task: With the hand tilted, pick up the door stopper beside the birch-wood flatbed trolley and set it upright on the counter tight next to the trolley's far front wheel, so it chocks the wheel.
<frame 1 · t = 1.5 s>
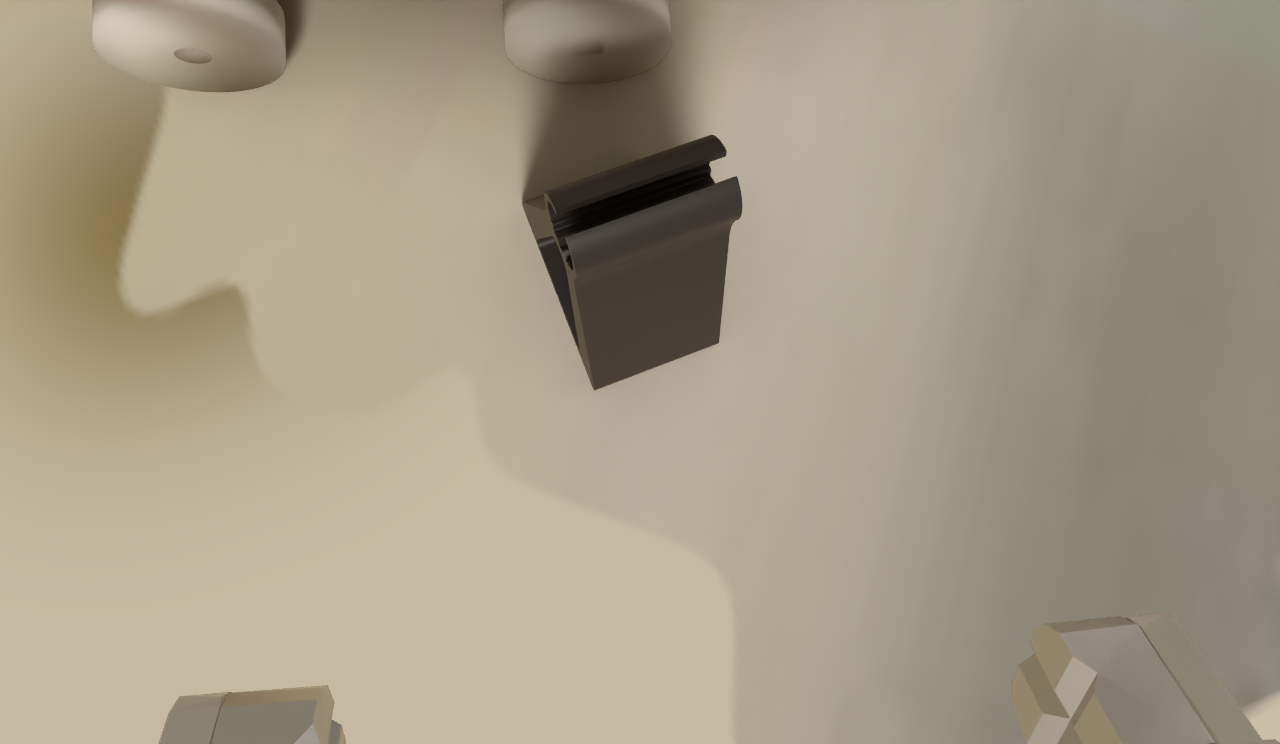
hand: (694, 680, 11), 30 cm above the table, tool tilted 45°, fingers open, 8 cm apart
door stopper: (619, 276, 42), on the table
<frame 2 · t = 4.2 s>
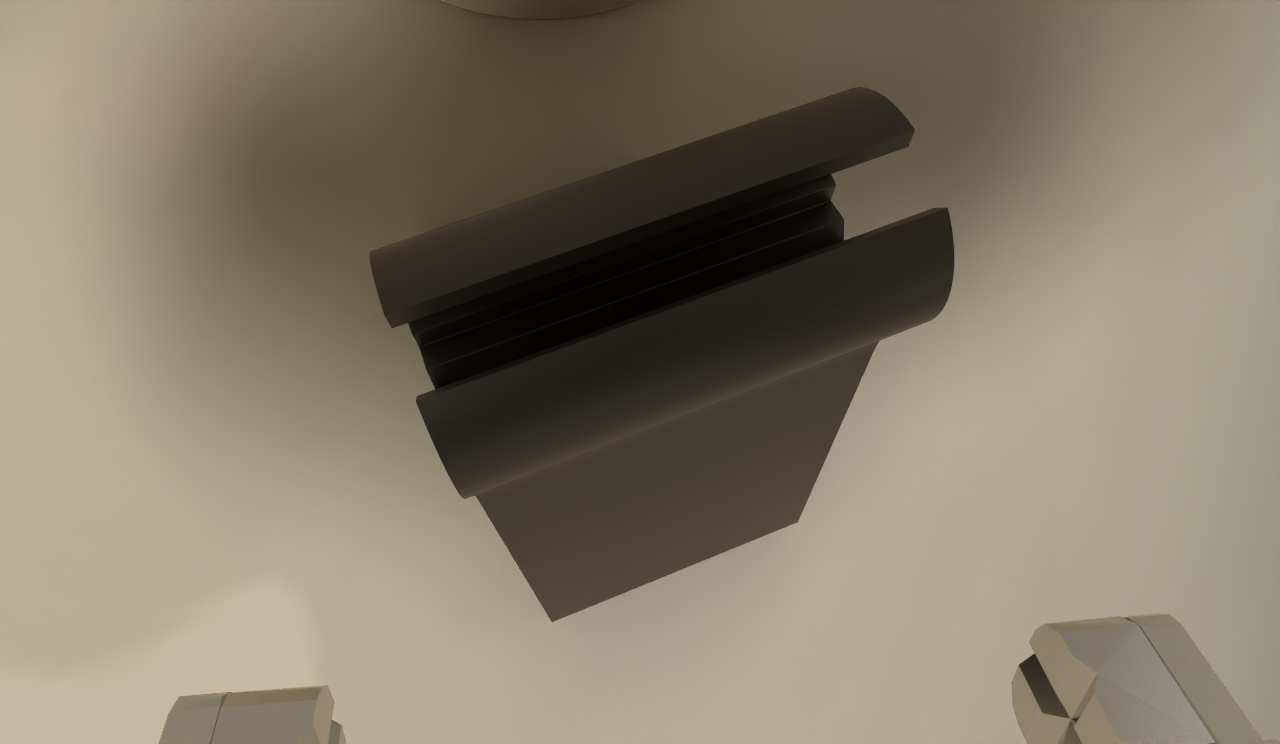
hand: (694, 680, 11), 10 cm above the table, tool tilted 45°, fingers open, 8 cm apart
door stopper: (604, 387, 22), on the table
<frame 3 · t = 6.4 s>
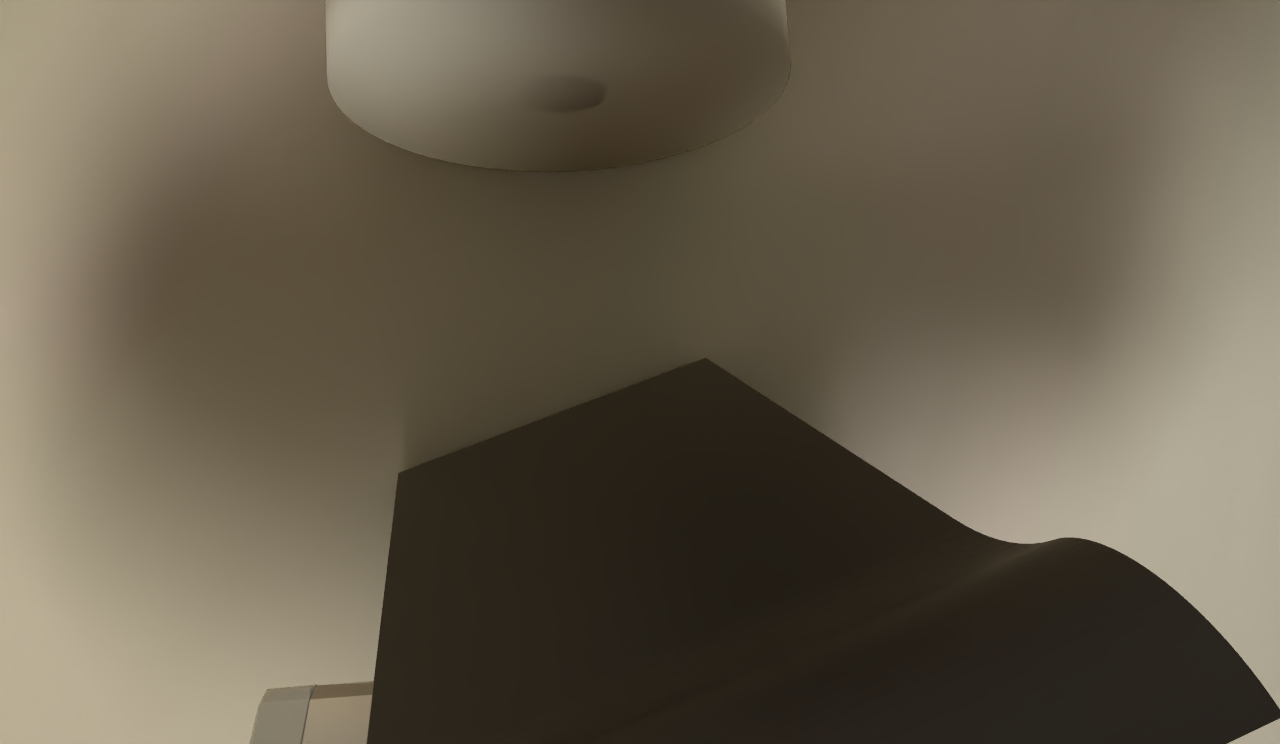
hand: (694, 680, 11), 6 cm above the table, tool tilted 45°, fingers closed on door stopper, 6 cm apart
door stopper: (640, 642, 17), on the table, touching gripper
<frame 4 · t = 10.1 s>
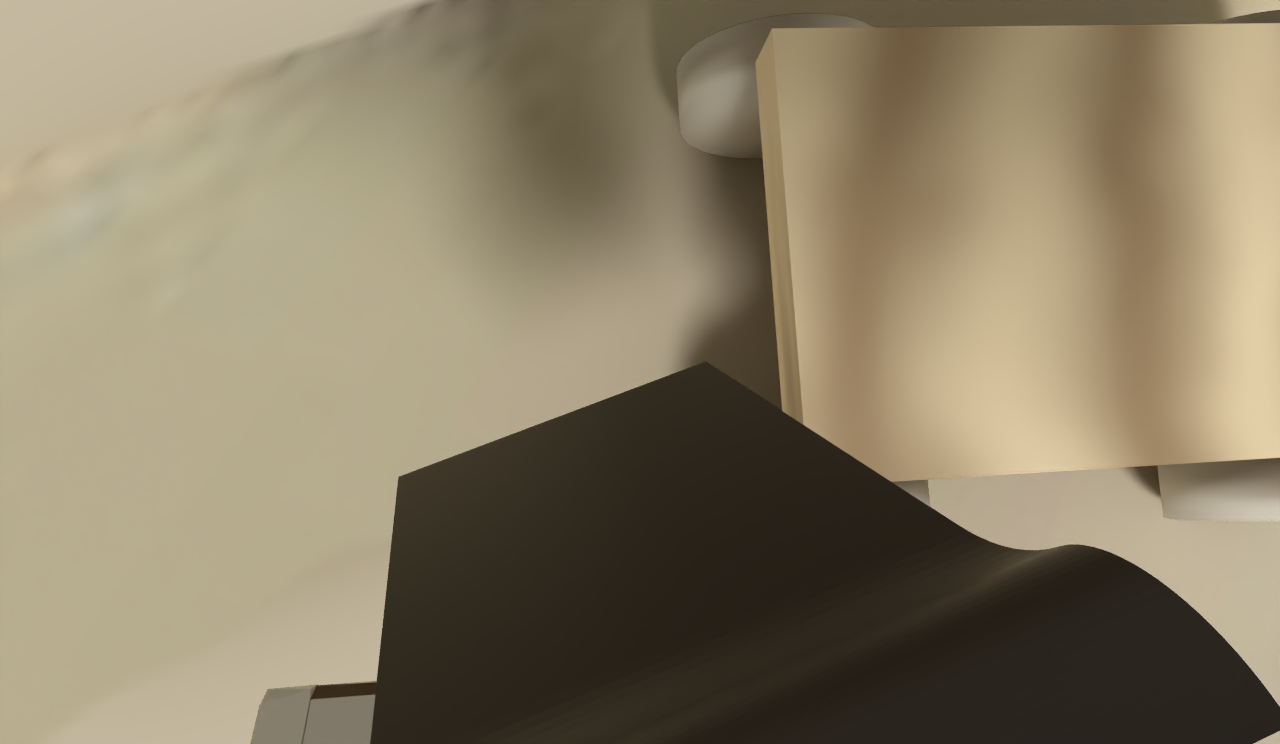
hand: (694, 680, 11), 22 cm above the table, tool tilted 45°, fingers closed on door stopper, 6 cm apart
door stopper: (640, 646, 17), point 15 cm above the table, touching gripper
wheeled trolley: (982, 308, 34), on the table
when the fingers open (8 cm above the table, at t = 13.8 s): door stopper drops 1 cm, on the table.
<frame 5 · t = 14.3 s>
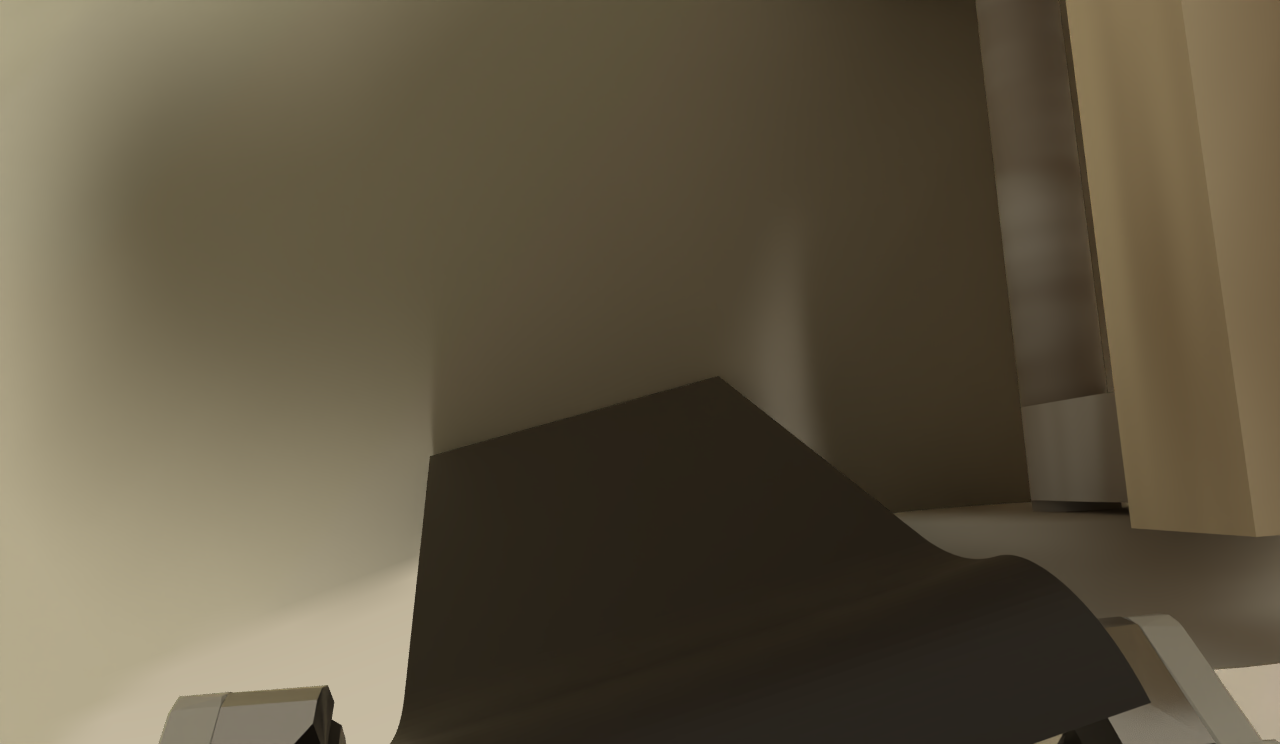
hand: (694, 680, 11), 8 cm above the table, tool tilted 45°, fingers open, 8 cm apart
door stopper: (635, 631, 19), on the table
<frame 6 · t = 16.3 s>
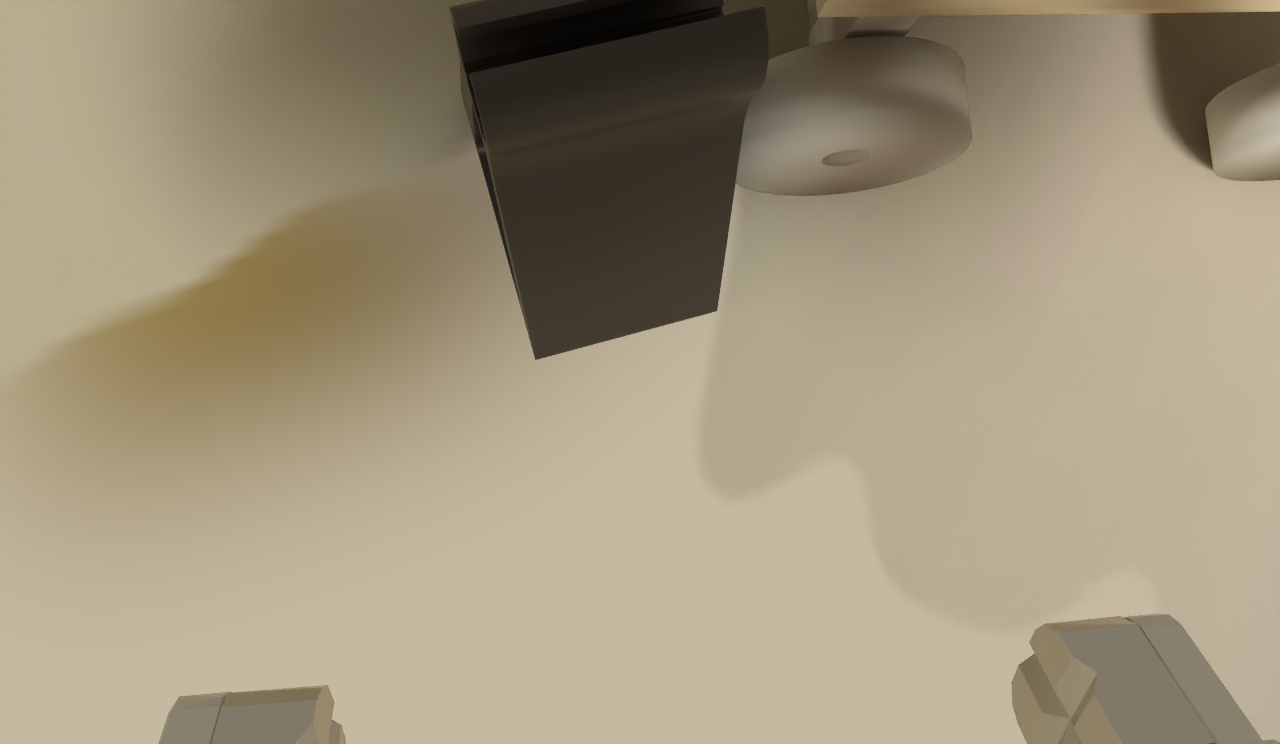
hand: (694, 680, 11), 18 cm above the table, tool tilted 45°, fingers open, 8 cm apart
door stopper: (588, 206, 30), on the table
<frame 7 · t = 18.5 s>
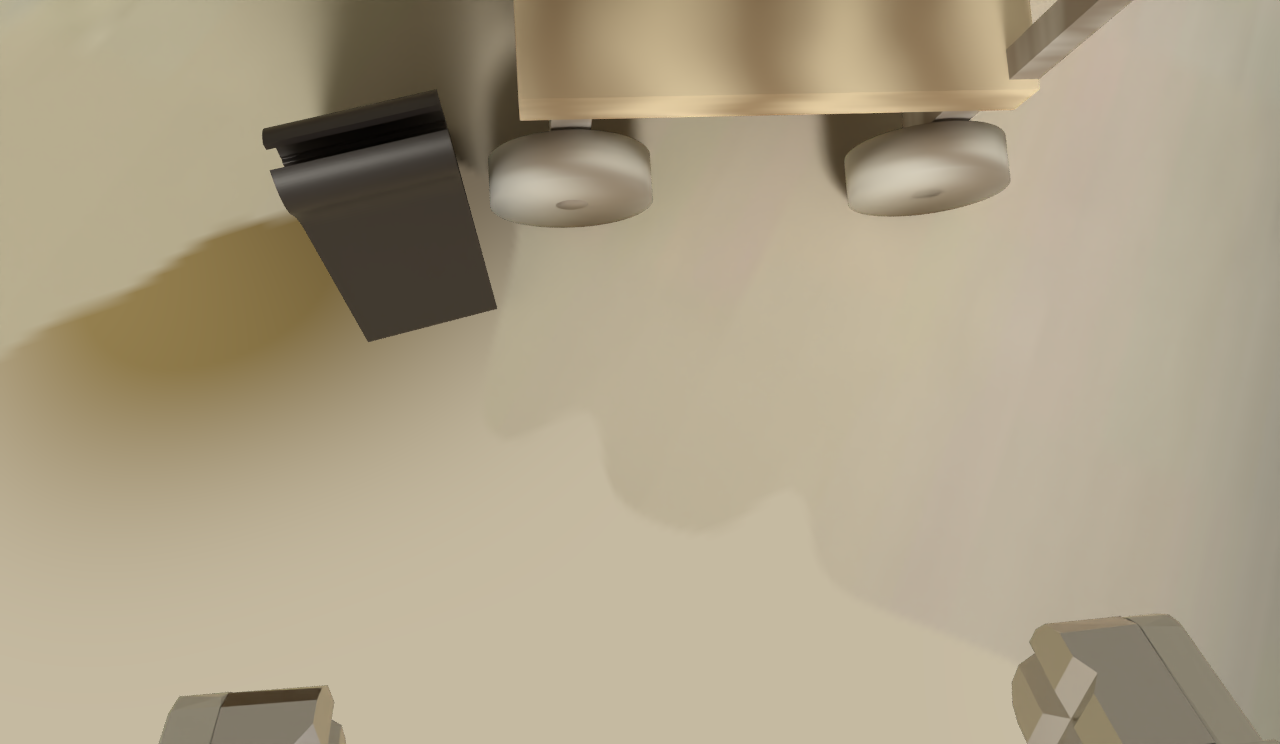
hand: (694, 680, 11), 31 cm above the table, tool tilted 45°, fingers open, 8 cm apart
door stopper: (410, 235, 43), on the table
wheeled trolley: (725, 63, 45), on the table
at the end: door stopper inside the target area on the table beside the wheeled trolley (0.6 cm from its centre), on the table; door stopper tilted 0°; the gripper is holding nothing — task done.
